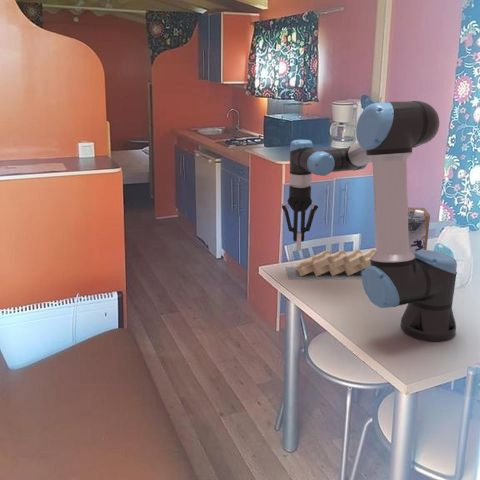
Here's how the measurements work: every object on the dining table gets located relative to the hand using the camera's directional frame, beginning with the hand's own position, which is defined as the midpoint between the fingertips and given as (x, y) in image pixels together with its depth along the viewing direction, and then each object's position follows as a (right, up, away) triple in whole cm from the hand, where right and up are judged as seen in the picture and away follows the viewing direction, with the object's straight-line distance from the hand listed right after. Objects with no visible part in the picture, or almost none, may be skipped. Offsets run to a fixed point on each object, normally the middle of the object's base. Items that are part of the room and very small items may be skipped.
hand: (298, 249), depth 201 cm
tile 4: (+17, -7, +3) cm, 19 cm away
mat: (+12, -9, +3) cm, 15 cm away
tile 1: (0, -7, +2) cm, 8 cm away
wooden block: (+45, -4, +17) cm, 48 cm away
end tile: (+22, -7, +3) cm, 24 cm away
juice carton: (+36, -13, -8) cm, 39 cm away
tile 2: (+6, -7, +2) cm, 10 cm away
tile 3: (+12, -7, +3) cm, 14 cm away
